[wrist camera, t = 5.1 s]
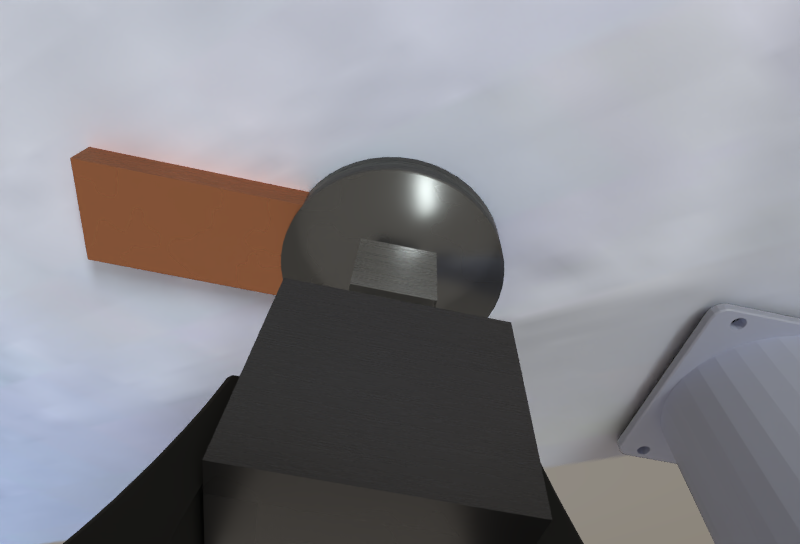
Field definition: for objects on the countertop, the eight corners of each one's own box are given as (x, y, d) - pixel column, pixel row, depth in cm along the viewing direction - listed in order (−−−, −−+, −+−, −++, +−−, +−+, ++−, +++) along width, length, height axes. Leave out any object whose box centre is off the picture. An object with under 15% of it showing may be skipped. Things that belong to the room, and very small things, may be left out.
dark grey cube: (511, 322, 11) (552, 519, 7) (452, 461, 14) (460, 657, 10) (284, 277, 11) (202, 460, 7) (270, 429, 13) (206, 619, 10)
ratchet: (529, 183, 15) (555, 243, 12) (466, 352, 19) (473, 429, 16) (80, 87, 15) (-14, 126, 11) (110, 285, 18) (46, 353, 15)
